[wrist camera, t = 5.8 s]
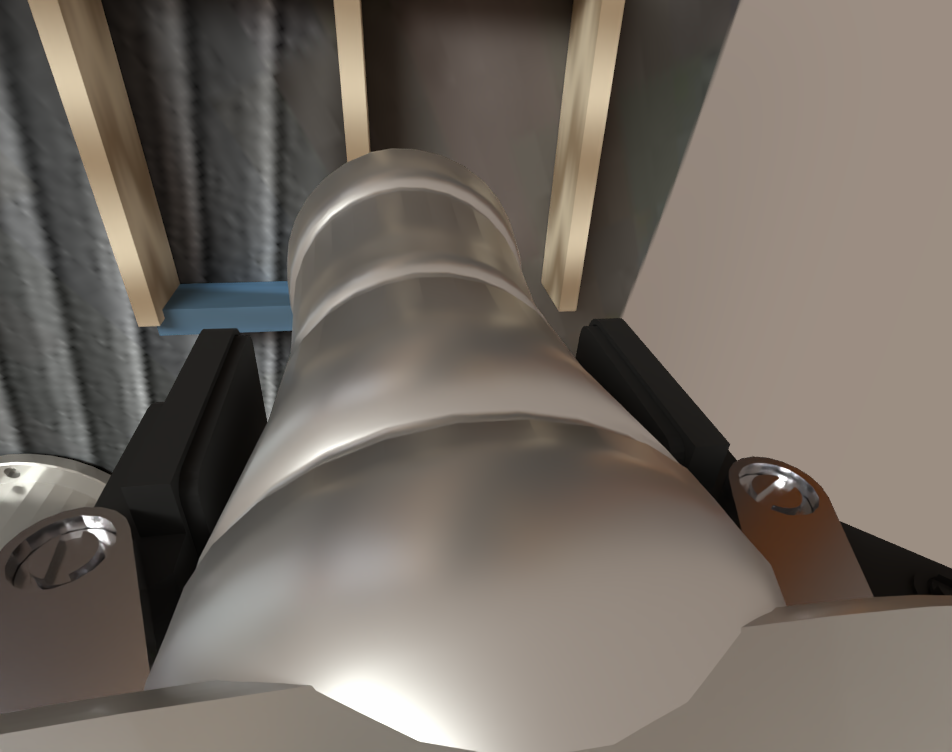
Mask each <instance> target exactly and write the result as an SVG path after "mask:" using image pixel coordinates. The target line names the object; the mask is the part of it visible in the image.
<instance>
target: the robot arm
mask: <svg viewBox="0 0 952 752" xmlns="http://www.w3.org/2000/svg"><path fill="white" fill-rule="evenodd" d="M576 360H577V361H578V362H579V364H580V365H581V366H582V367H583V368H584V369H585V370H586V371H587V372H588V373H589V374H590V375H591V376H592V377H593V378H594V379H595V380H596V381H597V382H598V383H599V384H600V385H601V386H602V387H603V388H604V389H605V390H606V391H607V392H608V393H609V394H610V395H611V396H612V397H613V398H614V399H615V400H616V401H618V402H619V403H620V404H621V405H622V406H623V407H624V408H625V409H626V410H627V411H628V412H629V413H630V414H631V415H632V416H633V417H634V418H635V419H636V420H637V421H638V422H639V423H640V424H641V425H642V426H643V427H644V428H645V429H646V430H647V431H648V432H649V433H650V434H651V435H652V436H653V437H654V438H655V439H656V440H657V441H658V442H659V443H660V444H661V445H662V446H664V447H665V448H666V449H667V450H668V452H669V453H670V454H671V455H672V456H673V457H674V458H675V459H676V460H677V462H678V463H679V464H680V465H682V466H684V467H685V468H687V469H688V470H689V471H690V472H691V473H692V475H693V476H694V477H695V478H696V479H697V480H698V481H699V482H700V483H701V485H702V486H703V487H704V488H705V489H706V490H707V491H708V492H709V494H710V495H711V496H712V497H713V498H714V499H715V500H716V502H717V503H718V504H719V505H720V506H721V507H722V509H723V510H724V511H725V512H726V513H727V515H728V516H729V517H730V518H731V519H732V521H733V522H734V523H735V524H736V525H737V527H738V528H739V529H740V530H741V531H742V533H743V534H744V535H745V536H746V537H747V538H748V539H749V541H750V542H751V543H752V544H753V545H754V546H755V547H756V548H757V550H758V551H759V552H760V553H761V554H762V555H763V556H764V557H765V559H766V560H767V561H768V562H769V563H770V564H771V566H772V569H773V572H774V574H775V577H776V579H777V582H778V585H779V587H780V590H781V593H782V595H783V598H784V601H785V603H786V606H784V607H776V608H775V609H774V610H773V611H772V612H769V613H767V614H765V615H762V616H760V617H758V618H756V619H754V620H753V621H751V622H749V623H748V624H746V625H744V626H743V627H741V633H740V634H739V636H738V637H737V638H736V640H735V641H734V642H733V644H732V645H731V646H730V648H729V649H728V650H727V652H726V653H725V654H724V655H723V657H722V658H721V659H720V661H719V662H718V663H717V665H716V666H715V667H714V669H713V670H712V671H711V673H710V674H709V675H708V676H707V678H706V679H705V680H704V682H703V683H702V684H701V686H700V687H699V688H698V689H697V691H696V692H695V693H694V694H693V696H692V697H691V698H690V700H689V701H688V702H687V703H685V704H683V705H681V706H680V707H678V708H676V709H674V710H673V711H671V712H669V713H667V714H666V715H664V716H662V717H660V718H659V719H657V720H655V721H653V722H652V723H650V724H648V725H646V726H645V727H643V728H641V729H639V730H638V731H636V732H634V733H633V734H631V735H629V736H628V737H626V738H624V739H623V740H621V741H619V742H617V743H616V744H614V745H610V746H603V747H597V748H590V749H584V750H578V751H572V752H952V569H951V568H949V567H947V566H944V565H942V564H940V563H937V562H935V561H932V560H930V559H928V558H925V557H923V556H921V555H918V554H916V553H914V552H911V551H909V550H906V549H904V548H901V547H900V546H897V545H895V544H892V543H890V542H888V541H885V540H883V539H881V538H878V537H876V536H874V535H871V534H869V533H866V532H864V531H862V530H859V529H857V528H854V527H852V526H850V525H848V524H845V523H843V522H840V521H839V519H838V517H837V515H836V512H835V510H834V508H833V506H832V503H831V501H830V499H829V497H828V496H827V494H826V493H825V491H824V490H823V488H822V487H821V486H820V485H819V484H818V483H817V482H816V481H815V480H814V479H813V478H811V477H810V476H809V475H807V474H806V473H804V472H803V471H801V470H799V469H798V468H796V467H794V466H791V465H789V464H786V463H784V462H782V461H778V460H774V459H770V458H765V457H747V458H742V459H740V460H738V461H737V460H736V459H735V458H734V456H733V455H732V454H731V453H730V452H729V450H728V449H729V446H730V444H729V442H728V441H727V440H726V439H725V438H724V437H723V435H722V434H721V433H720V432H719V431H718V429H717V428H716V427H715V426H714V425H713V424H712V422H711V421H710V420H709V419H708V418H707V417H706V416H705V414H704V413H703V412H702V411H701V410H700V408H699V407H698V406H697V405H696V404H695V403H694V402H693V400H692V399H691V398H690V397H689V396H688V394H686V392H685V391H684V390H683V389H682V387H681V386H680V385H679V384H678V383H677V382H676V380H675V379H674V378H673V377H672V376H671V375H670V374H669V372H668V371H667V370H666V369H665V368H664V366H662V364H661V363H660V362H659V361H658V360H657V358H656V357H655V356H654V355H653V354H652V353H651V351H650V350H649V349H648V348H647V347H646V345H645V344H644V343H643V342H642V341H641V340H640V338H639V337H638V336H637V335H636V334H635V333H634V331H633V330H632V329H631V328H630V327H629V326H628V324H627V323H626V322H625V321H624V320H623V319H621V318H615V319H593V320H592V321H591V323H590V325H589V326H584V327H583V328H582V330H581V333H580V337H579V343H578V348H577V354H576ZM266 424H267V418H266V413H265V407H264V402H263V396H262V391H261V385H260V380H259V374H258V369H257V363H256V358H255V353H254V347H253V342H252V339H251V337H250V336H241V334H240V332H239V330H238V329H237V328H220V329H203V330H202V331H201V332H200V334H199V336H198V338H197V340H196V342H195V344H194V346H193V348H192V350H191V352H190V354H189V356H188V357H187V359H186V361H185V363H184V365H183V367H182V369H181V371H180V373H179V375H178V377H177V379H176V381H175V383H174V385H173V387H172V389H171V390H170V392H169V394H168V396H167V398H166V400H165V402H156V403H153V404H151V405H150V407H149V408H148V409H147V411H146V413H145V415H144V416H143V418H142V420H141V422H140V424H139V425H138V427H137V429H136V431H135V433H134V435H133V436H132V438H131V440H130V442H129V444H128V445H127V447H126V449H125V451H124V453H123V455H122V456H121V458H120V460H119V462H118V464H117V465H116V467H115V469H114V471H113V473H112V475H109V474H107V473H105V472H103V471H101V470H99V469H97V468H95V467H93V466H90V465H87V464H84V463H81V462H78V461H75V460H71V459H66V458H61V457H56V456H50V455H39V454H8V455H3V456H0V752H477V751H471V750H466V749H460V748H454V747H448V746H443V745H437V744H431V743H425V742H419V741H417V740H415V739H413V738H411V737H409V736H407V735H405V734H403V733H401V732H399V731H397V730H395V729H393V728H391V727H389V726H387V725H385V724H382V723H380V722H378V721H376V720H374V719H372V718H370V717H368V716H366V715H364V714H362V713H360V712H358V711H356V710H354V709H352V708H350V707H348V706H346V705H344V704H342V703H340V702H338V701H336V700H334V699H332V698H330V697H328V696H326V695H324V694H322V693H320V692H318V691H316V690H315V689H314V687H313V686H312V685H298V684H286V683H264V682H231V681H221V680H213V681H206V682H198V683H191V684H185V685H178V686H171V687H165V688H158V689H152V690H145V691H144V687H145V684H146V680H147V678H148V675H149V673H150V671H151V668H152V666H153V664H154V661H155V659H156V656H157V654H158V652H159V649H160V647H161V644H162V642H163V640H164V637H165V635H166V632H167V630H168V627H169V625H170V622H171V619H172V617H173V614H174V612H175V609H176V606H177V604H178V601H179V599H180V596H181V594H182V591H183V588H184V586H185V585H186V583H187V582H188V580H189V579H190V577H191V576H192V574H193V573H194V571H195V570H196V567H197V564H198V561H199V558H200V556H201V554H202V552H203V550H204V548H205V546H206V544H207V542H208V540H209V538H210V536H211V534H212V532H213V530H214V528H215V526H216V524H217V522H218V520H219V518H220V516H221V514H222V512H223V510H224V508H225V506H226V504H227V502H228V500H229V498H230V496H231V494H232V492H233V490H234V488H235V486H236V484H237V482H238V480H239V478H240V476H241V474H242V472H243V470H244V468H245V466H246V464H247V462H248V460H249V458H250V456H251V454H252V452H253V450H254V448H255V446H256V444H257V442H258V440H259V438H260V436H261V434H262V432H263V430H264V428H265V426H266Z"/></svg>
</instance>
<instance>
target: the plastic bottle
mask: <svg viewBox="0 0 952 752" xmlns="http://www.w3.org/2000/svg"><path fill="white" fill-rule="evenodd" d="M287 277H288V289H289V297H290V305H291V309H292V313H293V323H292V342H291V353H290V356H289V359H288V362H287V365H286V368H285V371H284V374H283V378H282V381H281V384H280V386H279V389H278V392H277V396H276V399H275V402H274V405H273V408H272V411H271V414H270V417H269V420H268V422H267V424H266V426H265V428H264V430H263V432H262V434H261V436H260V438H259V440H258V442H257V444H256V446H255V448H254V450H253V452H252V454H251V456H250V458H249V460H248V462H247V464H246V466H245V468H244V470H243V472H242V474H241V476H240V478H239V480H238V482H237V484H236V486H235V488H234V490H233V492H232V494H231V496H230V498H229V500H228V502H227V504H226V506H225V508H224V510H223V512H222V514H221V516H220V518H219V520H218V522H217V524H216V526H215V528H214V530H213V532H212V534H211V536H210V538H209V540H208V542H207V544H206V546H205V548H204V550H203V552H202V554H201V556H200V558H199V561H198V564H197V567H196V570H195V571H194V573H193V574H192V576H191V577H190V579H189V580H188V582H187V583H186V585H185V586H184V588H183V591H182V594H181V596H180V599H179V601H178V604H177V606H176V609H175V612H174V614H173V617H172V619H171V622H170V625H169V627H168V630H167V632H166V635H165V637H164V640H163V642H162V644H161V647H160V649H159V652H158V654H157V656H156V659H155V661H154V664H153V666H152V668H151V671H150V673H149V675H148V678H147V680H146V684H145V687H144V691H145V690H152V689H158V688H165V687H171V686H178V685H185V684H191V683H198V682H206V681H213V680H221V681H231V682H264V683H286V684H298V685H312V686H313V687H314V689H315V690H316V691H318V692H320V693H322V694H324V695H326V696H328V697H330V698H332V699H334V700H336V701H338V702H340V703H342V704H344V705H346V706H348V707H350V708H352V709H354V710H356V711H358V712H360V713H362V714H364V715H366V716H368V717H370V718H372V719H374V720H376V721H378V722H380V723H382V724H385V725H387V726H389V727H391V728H393V729H395V730H397V731H399V732H401V733H403V734H405V735H407V736H409V737H411V738H413V739H415V740H417V741H419V742H425V743H431V744H437V745H443V746H448V747H454V748H460V749H466V750H471V751H477V752H572V751H578V750H584V749H590V748H597V747H603V746H610V745H614V744H616V743H617V742H619V741H621V740H623V739H624V738H626V737H628V736H629V735H631V734H633V733H634V732H636V731H638V730H639V729H641V728H643V727H645V726H646V725H648V724H650V723H652V722H653V721H655V720H657V719H659V718H660V717H662V716H664V715H666V714H667V713H669V712H671V711H673V710H674V709H676V708H678V707H680V706H681V705H683V704H685V703H687V702H688V701H689V700H690V698H691V697H692V696H693V694H694V693H695V692H696V691H697V689H698V688H699V687H700V686H701V684H702V683H703V682H704V680H705V679H706V678H707V676H708V675H709V674H710V673H711V671H712V670H713V669H714V667H715V666H716V665H717V663H718V662H719V661H720V659H721V658H722V657H723V655H724V654H725V653H726V652H727V650H728V649H729V648H730V646H731V645H732V644H733V642H734V641H735V640H736V638H737V637H738V636H739V634H740V633H741V627H743V626H744V625H746V624H748V623H749V622H751V621H753V620H754V619H756V618H758V617H760V616H762V615H765V614H767V613H769V612H772V611H773V610H774V609H775V608H776V607H784V606H786V603H785V601H784V598H783V595H782V593H781V590H780V587H779V585H778V582H777V579H776V577H775V574H774V572H773V569H772V566H771V564H770V563H769V562H768V561H767V560H766V559H765V557H764V556H763V555H762V554H761V553H760V552H759V551H758V550H757V548H756V547H755V546H754V545H753V544H752V543H751V542H750V541H749V539H748V538H747V537H746V536H745V535H744V534H743V533H742V531H741V530H740V529H739V528H738V527H737V525H736V524H735V523H734V522H733V521H732V519H731V518H730V517H729V516H728V515H727V513H726V512H725V511H724V510H723V509H722V507H721V506H720V505H719V504H718V503H717V502H716V500H715V499H714V498H713V497H712V496H711V495H710V494H709V492H708V491H707V490H706V489H705V488H704V487H703V486H702V485H701V483H700V482H699V481H698V480H697V479H696V478H695V477H694V476H693V475H692V473H691V472H690V471H689V470H688V469H687V468H685V467H684V466H682V465H680V464H679V463H678V462H677V460H676V459H675V458H674V457H673V456H672V455H671V454H670V453H669V452H668V450H667V449H666V448H665V447H664V446H662V445H661V444H660V443H659V442H658V441H657V440H656V439H655V438H654V437H653V436H652V435H651V434H650V433H649V432H648V431H647V430H646V429H645V428H644V427H643V426H642V425H641V424H640V423H639V422H638V421H637V420H636V419H635V418H634V417H633V416H632V415H631V414H630V413H629V412H628V411H627V410H626V409H625V408H624V407H623V406H622V405H621V404H620V403H619V402H618V401H616V400H615V399H614V398H613V397H612V396H611V395H610V394H609V393H608V392H607V391H606V390H605V389H604V388H603V387H602V386H601V385H600V384H599V383H598V382H597V381H596V380H595V379H594V378H593V377H592V376H591V375H590V374H589V373H588V372H587V371H586V370H585V369H584V368H583V367H582V366H581V365H580V364H579V362H578V361H577V360H576V358H575V357H574V356H573V354H572V353H571V352H570V350H569V349H568V348H567V347H566V345H565V344H564V343H563V341H562V340H561V339H560V337H559V336H558V335H557V333H556V332H555V331H554V330H553V328H552V327H551V326H550V325H549V324H548V323H547V321H546V319H545V317H544V316H543V315H542V313H541V312H540V311H539V310H538V308H537V307H536V306H535V303H534V301H533V298H532V296H531V293H530V291H529V288H528V286H527V284H526V281H525V279H524V276H523V274H522V267H521V258H520V254H519V251H518V248H517V244H516V241H515V237H514V234H513V231H512V228H511V224H510V221H509V219H508V217H507V215H506V213H505V211H504V209H503V207H502V205H501V203H500V202H499V200H498V198H497V197H496V196H495V195H494V194H493V192H492V191H491V190H490V189H489V187H488V186H487V185H486V184H485V183H484V181H482V180H481V179H480V178H479V177H477V176H476V175H475V174H473V173H472V172H471V171H470V170H468V169H467V168H466V167H465V166H463V165H461V164H459V163H457V162H454V161H452V160H450V159H448V158H446V157H444V156H442V155H438V154H434V153H430V152H426V151H422V150H417V149H398V148H391V149H386V150H380V151H375V152H370V153H368V154H366V155H363V156H361V157H359V158H356V159H354V160H352V161H349V162H347V163H345V164H344V165H342V166H341V167H340V168H338V169H337V170H335V171H334V172H333V173H331V174H330V175H328V176H327V177H326V178H324V179H323V181H322V182H321V183H320V184H319V185H318V186H317V187H316V188H315V190H314V191H313V192H312V193H311V194H310V195H309V196H308V198H307V199H306V201H305V203H304V205H303V207H302V208H301V210H300V212H299V214H298V215H297V217H296V220H295V223H294V226H293V229H292V233H291V236H290V239H289V247H288V259H287Z"/></svg>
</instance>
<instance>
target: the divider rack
mask: <svg viewBox="0 0 952 752" xmlns="http://www.w3.org/2000/svg"><path fill="white" fill-rule="evenodd" d="M28 3H29V5H30V8H31V11H32V14H33V17H34V20H35V23H36V26H37V29H38V32H39V35H40V38H41V41H42V44H43V47H44V50H45V53H46V55H47V58H48V61H49V64H50V67H51V70H52V73H53V76H54V79H55V82H56V85H57V88H58V91H59V94H60V97H61V100H62V103H63V105H64V108H65V111H66V114H67V117H68V120H69V123H70V126H71V129H72V132H73V135H74V138H75V141H76V144H77V147H78V150H79V152H80V155H81V158H82V161H83V164H84V167H85V170H86V173H87V176H88V179H89V182H90V185H91V188H92V191H93V194H94V197H95V200H96V202H97V205H98V208H99V211H100V214H101V217H102V220H103V223H104V226H105V229H106V232H107V235H108V238H109V241H110V244H111V247H112V250H113V252H114V255H115V258H116V261H117V264H118V267H119V270H120V273H121V276H122V279H123V282H124V285H125V288H126V291H127V294H128V297H129V299H130V302H131V305H132V308H133V311H134V314H135V317H136V320H137V323H138V326H139V327H140V326H157V328H158V331H159V334H160V336H163V335H189V334H200V332H201V331H202V330H203V329H220V328H237V329H238V330H239V332H240V333H242V332H268V331H292V323H293V313H292V309H291V305H290V297H289V289H288V281H277V282H237V283H198V284H180V282H179V278H178V275H177V271H176V268H175V264H174V260H173V257H172V253H171V250H170V246H169V242H168V239H167V235H166V232H165V228H164V225H163V221H162V217H161V214H160V210H159V207H158V203H157V199H156V196H155V192H154V189H153V185H152V182H151V178H150V174H149V171H148V167H147V164H146V160H145V156H144V153H143V149H142V146H141V142H140V139H139V135H138V131H137V128H136V124H135V121H134V117H133V113H132V110H131V106H130V103H129V99H128V96H127V92H126V88H125V85H124V81H123V78H122V74H121V70H120V67H119V63H118V60H117V56H116V53H115V49H114V45H113V42H112V38H111V35H110V31H109V27H108V24H107V20H106V17H105V13H104V10H103V6H102V2H101V0H28ZM624 4H625V0H574V2H573V10H572V19H571V28H570V36H569V45H568V54H567V63H566V71H565V80H564V89H563V97H562V106H561V115H560V123H559V132H558V141H557V149H556V158H555V167H554V176H553V184H552V193H551V202H550V210H549V219H548V228H547V236H546V245H545V254H544V262H543V271H542V280H541V283H542V284H543V286H544V288H545V289H546V291H547V293H548V294H549V296H550V297H551V299H552V301H553V302H554V304H555V306H556V307H557V309H558V311H576V308H577V302H578V295H579V289H580V283H581V276H582V270H583V264H584V257H585V251H586V245H587V238H588V232H589V226H590V219H591V213H592V207H593V200H594V194H595V188H596V181H597V175H598V169H599V162H600V156H601V150H602V143H603V137H604V131H605V124H606V118H607V112H608V105H609V99H610V93H611V86H612V80H613V74H614V67H615V61H616V55H617V48H618V42H619V36H620V29H621V23H622V17H623V10H624ZM334 9H335V21H336V33H337V44H338V56H339V68H340V80H341V91H342V103H343V115H344V127H345V139H346V150H347V162H349V161H352V160H354V159H356V158H359V157H361V156H363V155H366V154H368V153H370V152H371V150H370V134H369V117H368V101H367V85H366V69H365V53H364V37H363V21H362V5H361V0H334Z"/></svg>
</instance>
